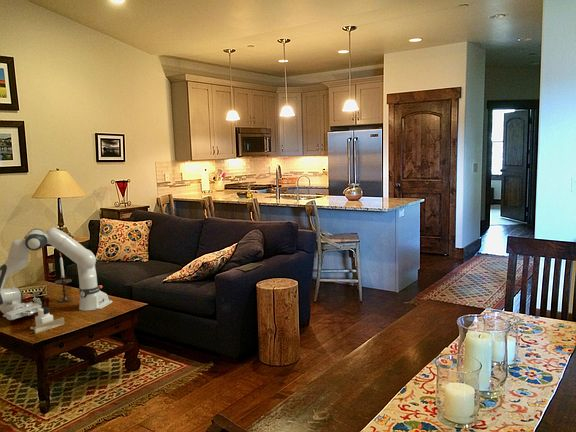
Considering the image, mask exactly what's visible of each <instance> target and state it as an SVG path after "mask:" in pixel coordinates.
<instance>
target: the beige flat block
mask: <svg viewBox="0 0 576 432" xmlns="http://www.w3.org/2000/svg"><path fill="white" fill-rule="evenodd" d="M63 325H65V317H60V318H56V319H53V321H50V322H47V323H44V324H41V325H38V326H36V325H35V326H30V327H29V330H33V331H34V334H35V335H37V334H40V333H44V332H46V331H48V330H52V329H54V328H57V327H60V326H63Z"/></svg>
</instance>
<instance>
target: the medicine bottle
mask: <svg viewBox="0 0 576 432" xmlns="http://www.w3.org/2000/svg"><path fill="white" fill-rule="evenodd" d="M53 320H54V315H53V314H50V308H49V307H47V306H42V307H41V308H39V309H38V312H37V316H35V320H34V321H35V326H38V325H41V324H44V323H47V322H50V321H53Z"/></svg>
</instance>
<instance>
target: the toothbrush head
mask: <svg viewBox="0 0 576 432" xmlns="http://www.w3.org/2000/svg"><path fill="white" fill-rule="evenodd" d="M33 301H34V302H33V303H36V304H39V305H41V308H42V307H43V304H42V303H43V302H42V301H41V298H39V297H35V296H34V298H33Z"/></svg>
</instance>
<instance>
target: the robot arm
mask: <svg viewBox="0 0 576 432" xmlns="http://www.w3.org/2000/svg"><path fill="white" fill-rule="evenodd" d="M47 245H50V246H52V247H53V248H55V249H56V250H57V251H59V253H62V254H63V255H65V256H66V257H67V258H69V259H70V260H71V261H72V262H73V263H75V264H76V266H77V267H76V268H77V273H78V282H79V283H78V285H79V289H78V292H79V304H78V310H79V311H82V312H83V311H87V312H88V311H94V310H101V309H103V308H104V307H106V306H108V305H110V304H112V303H113V300H111V299H109V296H108V294H107V293H106V292H104V291H101V289H102V288H103V285H98V277H97V270H96V262H97V257H96V255H95V254H94V253H93V251H92V250H90V249H87V248H86V247H85V246H83V245H82V244H81V243H79V242H78V241H77V240H75V239H74V237H71V236H70V235H69V234H67V233H66V232H64V231H63V230H60V229H58V228H57V227H55V226H54V227H50V228H48V229H47V230H45V231H44V230H43V229H41V228H33V229H31V230H30V231H28V232H27V234H26V235H25V236H24V237H23V238H21V239H20V238H17V239H14V240H12V241H11V243H10V247H9V250H8V253H7V258H6V260H5V262H4V263H3V264H2V265H0V312H1V313H2V314H3V315H2V317H3V318H6V319H7V320H8V321H14V320H17V319H20V318H23V317H27V316H28V317H29V316H32V315H34V314H35V313H38V309H39V308H42V307H41V305H39V304H36V303H34V302H32V301H28V302H22V301H23V298H24V293H23V291H22V290H21V289H20V288H19V287H17V286H14V287H6V288H5V287H4V285H5V283H6V280H7V278H8V277H9V276H10V275H13V274H14V273H16V272H19V271H21V270H23V269H24V268H25V267H26V265H27V264H28V258H29V252H30V251H32V252H33V251H38V250H40V249H42V248H44V247H45V246H47Z"/></svg>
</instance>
